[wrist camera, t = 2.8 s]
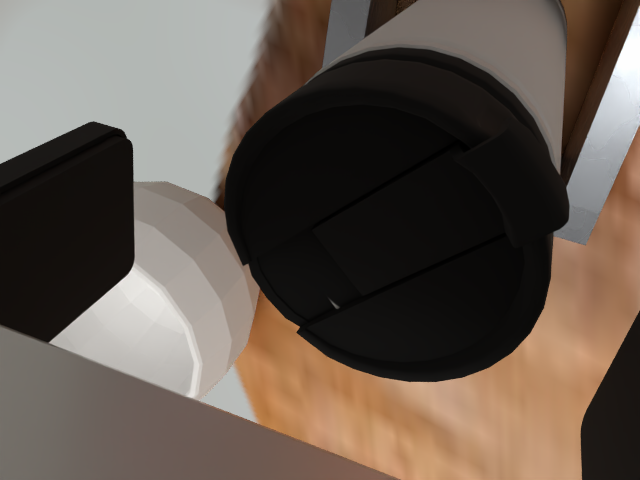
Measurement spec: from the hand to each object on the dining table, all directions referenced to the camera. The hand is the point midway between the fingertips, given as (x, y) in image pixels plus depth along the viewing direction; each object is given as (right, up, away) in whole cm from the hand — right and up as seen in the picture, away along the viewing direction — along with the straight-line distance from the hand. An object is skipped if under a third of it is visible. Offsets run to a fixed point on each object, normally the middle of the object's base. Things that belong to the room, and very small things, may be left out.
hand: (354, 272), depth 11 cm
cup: (-8, 0, +28) cm, 29 cm away
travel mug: (+7, +10, +16) cm, 20 cm away
